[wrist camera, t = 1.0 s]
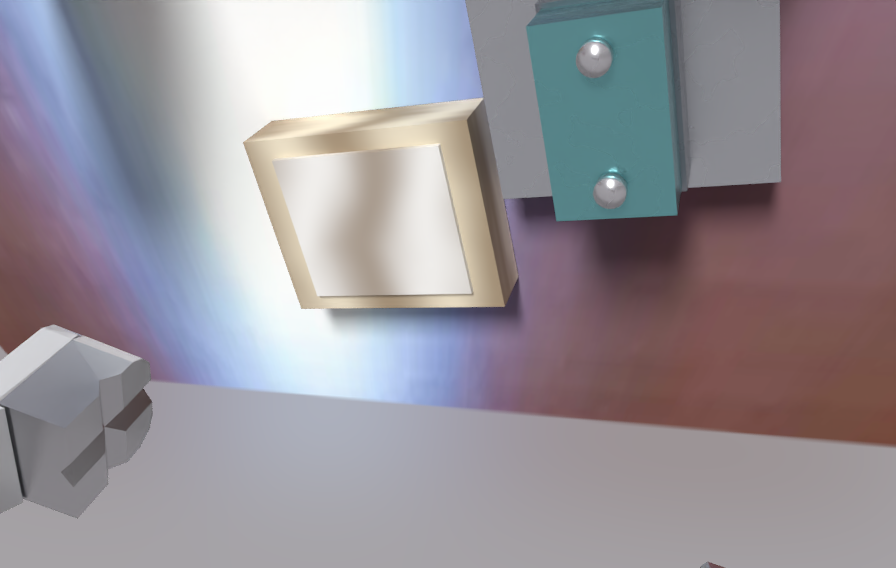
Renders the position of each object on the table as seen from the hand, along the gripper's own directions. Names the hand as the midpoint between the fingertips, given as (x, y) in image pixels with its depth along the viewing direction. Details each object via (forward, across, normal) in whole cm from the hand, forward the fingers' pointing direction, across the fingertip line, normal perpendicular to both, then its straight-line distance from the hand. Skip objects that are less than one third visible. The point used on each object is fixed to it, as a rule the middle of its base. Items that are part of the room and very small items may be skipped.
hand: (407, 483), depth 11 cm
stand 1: (+29, +9, +13) cm, 32 cm away
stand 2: (+28, -1, +2) cm, 28 cm away
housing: (+25, -1, +2) cm, 25 cm away
